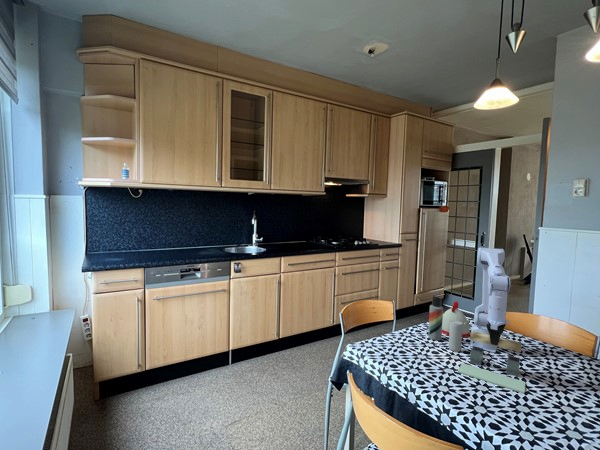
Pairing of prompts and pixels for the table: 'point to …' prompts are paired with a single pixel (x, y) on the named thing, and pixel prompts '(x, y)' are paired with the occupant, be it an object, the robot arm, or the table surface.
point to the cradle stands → (511, 361)
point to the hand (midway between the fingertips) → (494, 343)
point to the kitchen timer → (455, 315)
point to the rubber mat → (492, 377)
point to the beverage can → (455, 336)
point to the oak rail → (502, 343)
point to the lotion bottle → (435, 319)
